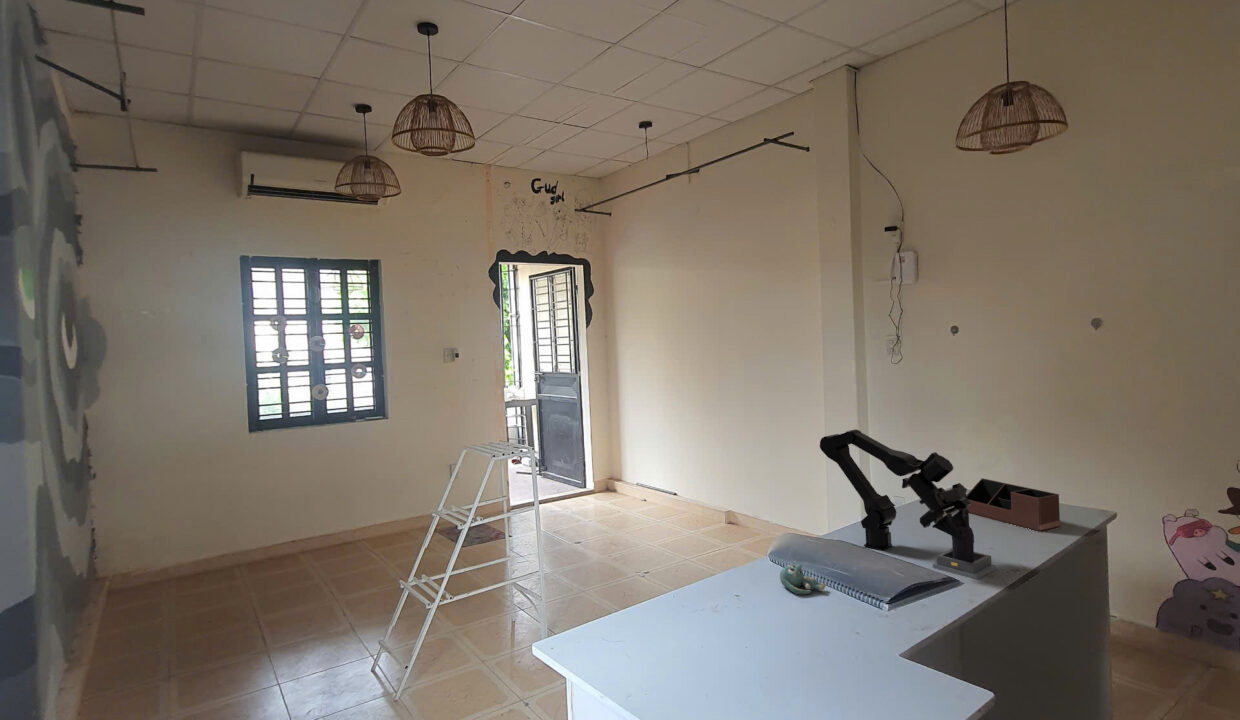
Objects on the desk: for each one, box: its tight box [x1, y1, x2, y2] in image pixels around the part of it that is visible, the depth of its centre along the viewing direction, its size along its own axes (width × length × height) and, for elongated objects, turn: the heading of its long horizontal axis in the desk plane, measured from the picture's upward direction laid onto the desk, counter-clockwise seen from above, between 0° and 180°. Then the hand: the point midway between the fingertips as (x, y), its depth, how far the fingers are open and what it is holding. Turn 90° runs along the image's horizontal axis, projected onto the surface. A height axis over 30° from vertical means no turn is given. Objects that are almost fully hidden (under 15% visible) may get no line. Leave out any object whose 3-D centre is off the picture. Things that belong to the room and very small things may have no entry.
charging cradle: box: [932, 548, 997, 580], centre depth 177 cm, size 12×11×4 cm
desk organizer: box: [965, 478, 1062, 533], centre depth 218 cm, size 10×29×11 cm, turn 21°
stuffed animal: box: [779, 563, 826, 596], centre depth 169 cm, size 11×7×12 cm
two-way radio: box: [951, 509, 975, 563], centre depth 177 cm, size 6×4×15 cm
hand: (967, 538), depth 176 cm, fingers closed on two-way radio, 5 cm apart
